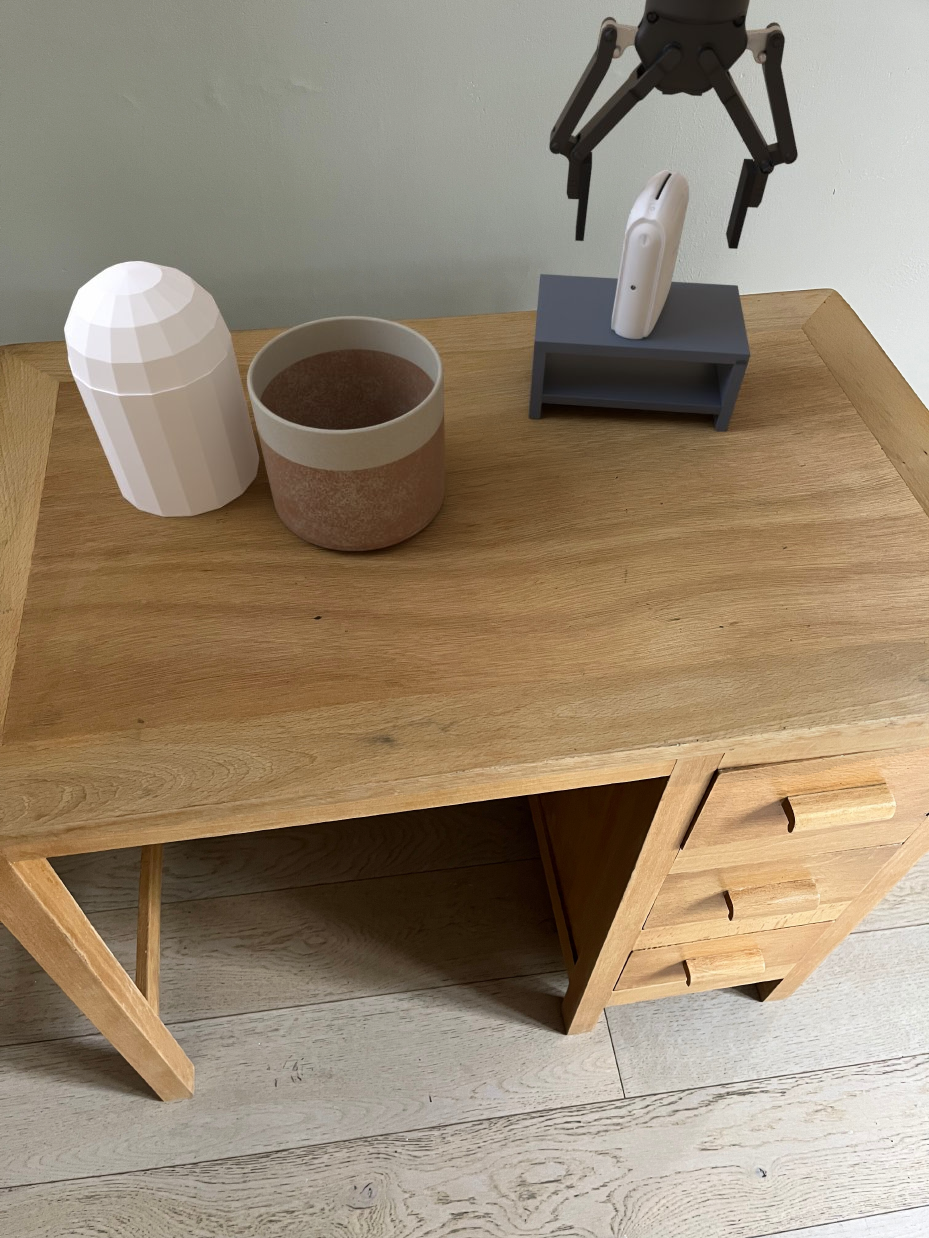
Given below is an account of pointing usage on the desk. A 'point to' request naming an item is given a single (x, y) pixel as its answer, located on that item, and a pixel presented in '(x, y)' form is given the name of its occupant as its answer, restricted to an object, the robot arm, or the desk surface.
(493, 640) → the desk surface
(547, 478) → the desk surface
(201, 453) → the container
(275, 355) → the planter
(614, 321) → the photo printer
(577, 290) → the shelf
